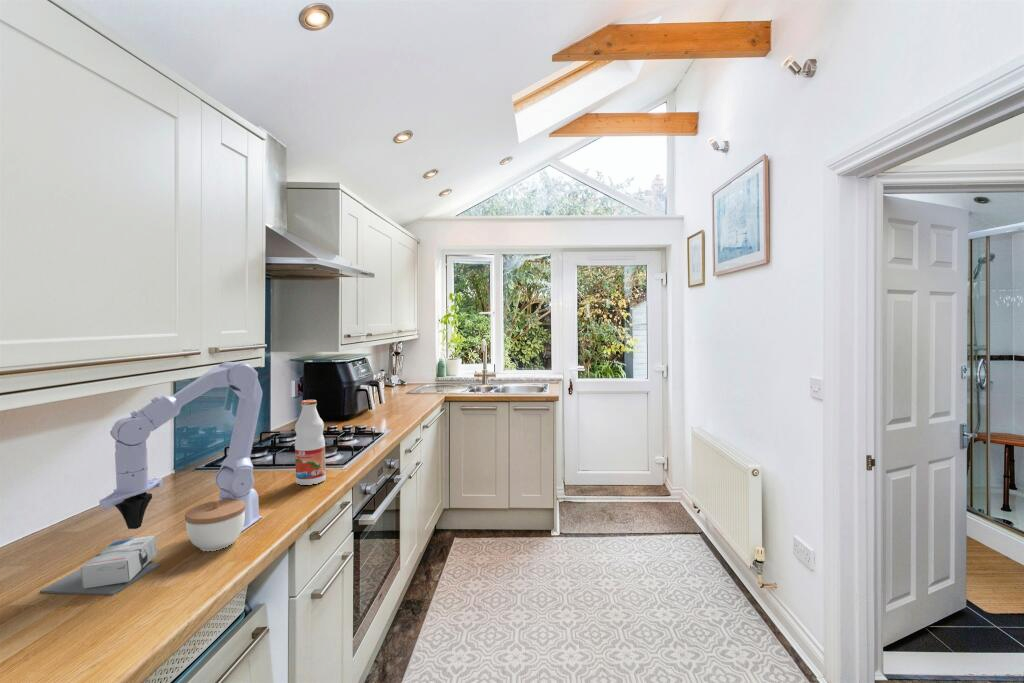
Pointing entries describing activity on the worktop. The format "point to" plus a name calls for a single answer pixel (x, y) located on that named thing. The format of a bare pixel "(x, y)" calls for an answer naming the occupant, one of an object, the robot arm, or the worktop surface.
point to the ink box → (118, 562)
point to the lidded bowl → (215, 523)
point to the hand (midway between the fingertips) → (134, 527)
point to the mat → (74, 586)
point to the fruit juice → (309, 445)
